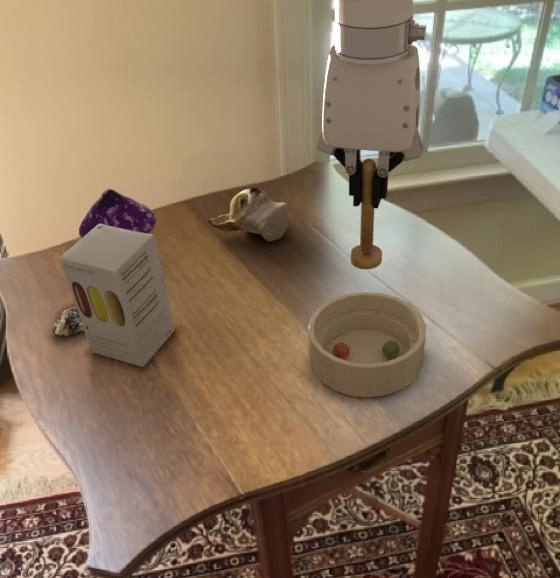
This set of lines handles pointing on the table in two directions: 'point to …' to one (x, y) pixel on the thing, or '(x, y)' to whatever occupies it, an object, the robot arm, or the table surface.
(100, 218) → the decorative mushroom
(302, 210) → the table surface
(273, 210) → the ceramic sculpture
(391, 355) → the bead
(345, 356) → the bead
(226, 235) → the table surface
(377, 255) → the wooden peg stand
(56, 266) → the table surface
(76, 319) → the white grey lumpy piece
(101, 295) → the supplement box
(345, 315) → the bowl
